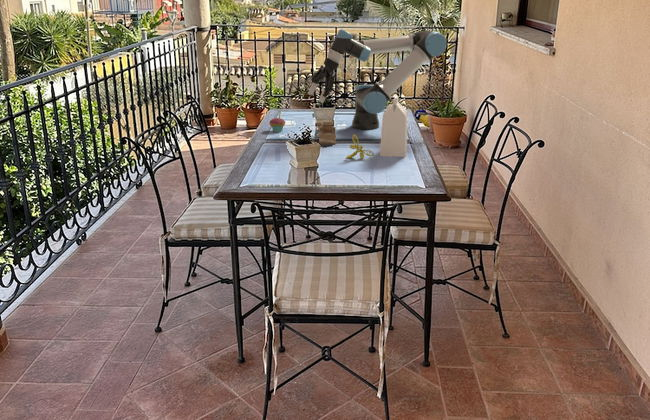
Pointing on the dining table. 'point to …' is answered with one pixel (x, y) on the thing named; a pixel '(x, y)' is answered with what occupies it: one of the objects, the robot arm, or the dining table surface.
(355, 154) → the decorative insect
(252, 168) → the dining table surface
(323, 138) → the birch cradle
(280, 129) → the cupcake
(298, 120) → the dining table surface
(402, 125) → the milk
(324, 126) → the walnut bar
